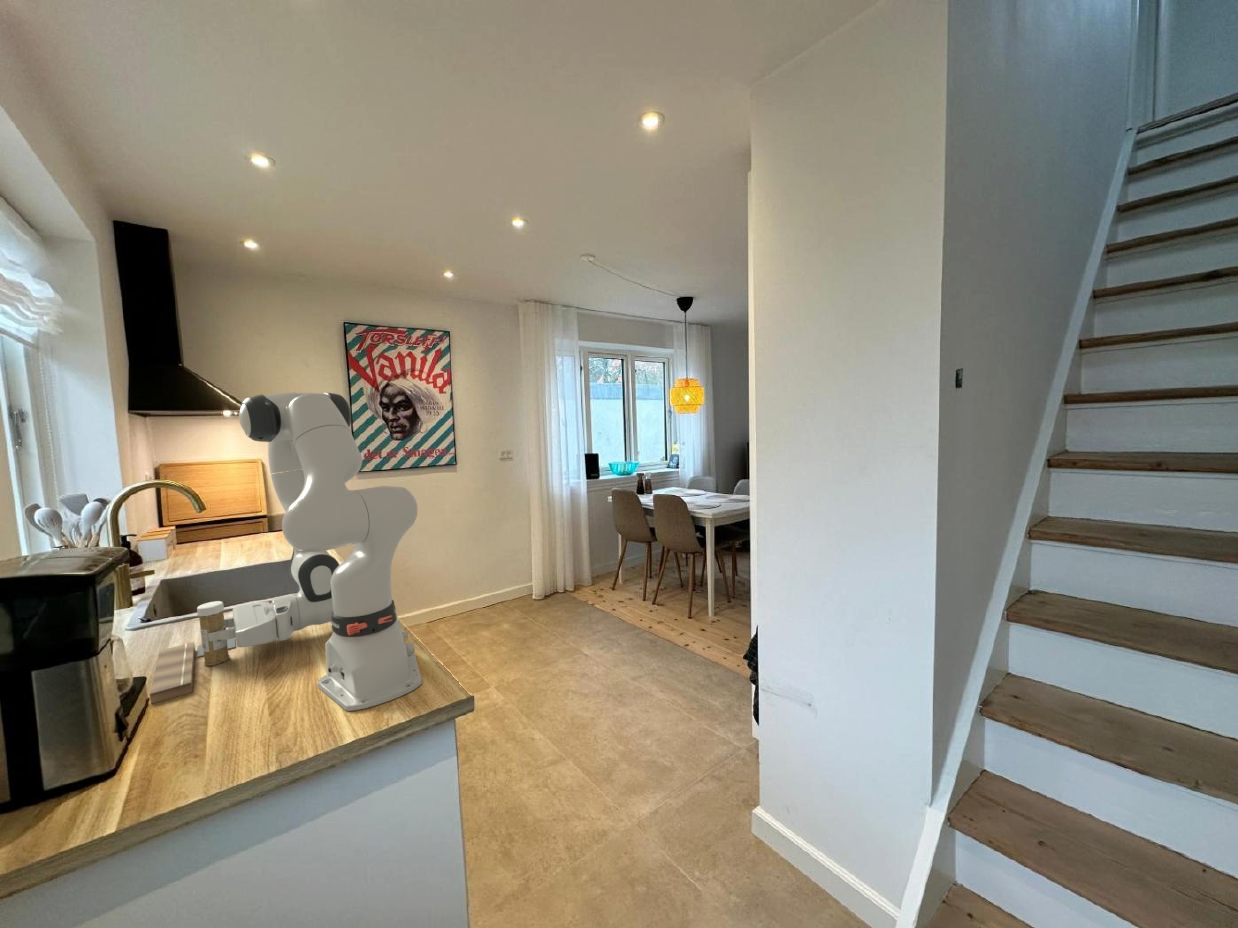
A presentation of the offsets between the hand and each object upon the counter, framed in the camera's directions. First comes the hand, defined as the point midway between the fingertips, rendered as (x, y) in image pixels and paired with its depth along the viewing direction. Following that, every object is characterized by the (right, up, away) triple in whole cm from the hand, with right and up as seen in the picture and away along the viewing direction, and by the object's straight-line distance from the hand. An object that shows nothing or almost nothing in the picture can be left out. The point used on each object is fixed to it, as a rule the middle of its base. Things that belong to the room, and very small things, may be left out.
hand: (208, 632), depth 110 cm
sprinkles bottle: (+1, -7, +1) cm, 7 cm away
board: (-4, -8, -4) cm, 9 cm away
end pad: (-5, -6, +8) cm, 12 cm away
